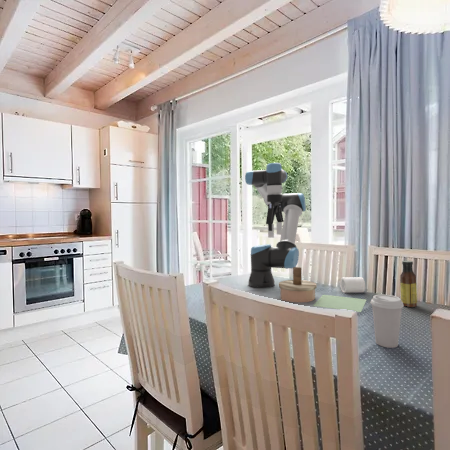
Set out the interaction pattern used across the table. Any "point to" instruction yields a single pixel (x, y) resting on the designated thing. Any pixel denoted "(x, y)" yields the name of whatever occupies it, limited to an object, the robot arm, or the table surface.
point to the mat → (340, 303)
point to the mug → (352, 285)
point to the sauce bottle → (408, 285)
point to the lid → (297, 282)
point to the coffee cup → (387, 319)
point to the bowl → (297, 295)
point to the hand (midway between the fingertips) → (275, 236)
